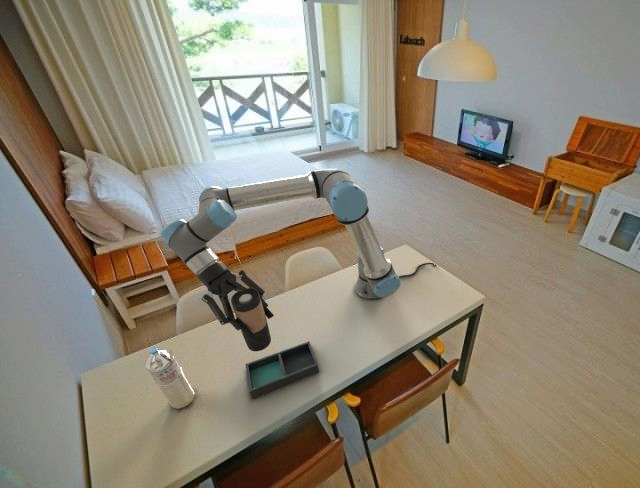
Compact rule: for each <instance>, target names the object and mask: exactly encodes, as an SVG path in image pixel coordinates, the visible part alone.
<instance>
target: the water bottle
mask: <svg viewBox="0 0 640 488" xmlns="http://www.w3.org/2000/svg"><path fill="white" fill-rule="evenodd" d="M144 366H145V369H146V371H147V372H149V374H150V376H151V377H152V378H153V380H154V382H155V384H156V386H157V387H158V388H159V390H160V391H161V393H162V394H163V396H164V397H165V399H166V400H167V402H168V404H169V405H170V406H171V407H172V408H174V409H177V410H180V409H184V408H186V407H187V406H189V405H190V404H191V403H192V402H193V401H194V399H195V397H196V396H195V395H196V394H195V390H194V388H193V386H192V384H191V383H190V381H189V379H188V378H187V376H186V374H185V373H184V370H183V368H182V367H181V366H180V365H179V363H178V361H177V359H176V358H175V354H174V353H173V351H171V350H169V349H158V348H157V347H152V348H151V349H150V350H149V355H148V356H147V358H146V360H145V363H144Z"/></svg>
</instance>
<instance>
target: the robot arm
mask: <svg viewBox="0 0 640 488" xmlns="http://www.w3.org/2000/svg"><path fill="white" fill-rule="evenodd" d="M305 198H313V199H315V200H317V199H325V200H326V202H327V203H328V206H329V207H330V209H331V211H332V213H333V215H334V217H335V219H336V221H337V223H338V224H339V225H342V226H344V227H345V229H346V231H347V233H348V235H349V237H350V239H351V242H352V243H353V245H354V247H355V249H356V252H357V255H356V257H357V272H358V273H357V274H358V275H357V279H356V282H355V284H354V285H355V286H354V287H355V292H356V294H357V295H358V296H359V297H360V298H363V299H366V300H376V299H379V298H388V297H390V296H392V295H394V294H395V293H396V292H397V291H398V289H399V288H400V287H401V279H400V278H409V277H413V276H414V275H416V274H417V272H418V270H419V268H422V267H423V266H427V265H428V266H429V265H431V266H434V267H436V266H437V264H435V263H433V262H424V263H421V264H419V265H418V266H416V268H415V271H414V272H412V273H410V274H404V275H398V274H397V273H396V271H395V269H394V267H393V264H392V262H391V260H390V259H389V258H388V257H386V256H385V249H384V247H382V246H381V245H380V242H379V239H378V238H377V236H376V233H375V231H374V229H373V226H372V224H371V221H370V218H369V216H368V215H369V212H370V208H369V205H368V204H369V203H368V202H369V201H368V197H367V194H366V192H365V190H364V189H363V187H362V186H361V185H360V184H358V183H357V181H355V179H354V177H352V175H351V174H349V172H347V171H346V170H344V169H340V168H324V169H317V170H311V171H308V172H307V174H305V175H297V176H293V177H286V178H280V179H274V180H269V181H262V182H256V183H255V182H254V183H249V184H244V185H239V186H231V187H224V188H222V187H220V186H216V185H209V186H206V187H205V188H203V189H202V191H201V193H200V195H199V198H198V201H199V202H198V204H199V205H198V213H197V214H196V215H195V216H194V217H192V218H191V219H190V220H188V221H186V220H185V219H177V220H174V221H172V222H171V223H169V224H166V226H165V227H163V228H162V229H161V231H160V237H161V239H162V240H163V241H164V243H166V245H167V246H168V248H169V249H171V250H172V251H173V253H175V255H177V257H179V259H180V260H181V261H182V262H183V263H184V264H185V265H186V267H187V268H188V269H189V270H190V271H191V272H192V273H193V274H194V275H195V276H197V279H198V280H199V281H200V282H201V283H202V284H203V286H205V287H206V288H207V292H206V293H205V294H203V295H202V297H201V301H202V302H203V303H205V304H207V306H208V308H209V309H210V310H211V312H212V313H213V314H214V316H215V317H216V319H217V320H218V322H219V323H220V325H222V326H225V325H226V324H230V325H231V326H232V327H233V328H234V329H235V330H236V331H241V330H242V331H243V332H244V334H245V335H246V336H247V337H250V336H251V335H253V333H252V332H251V330H250V329H249V328H248V327H247V326H246V325H245V324H244V323H243V322H242V321H241V320H240V319H239V318H236V316H235V313H234V310H233V307H232V304H231V301H230V299H229V294H230V293H231V292H232V293H233V291H234V292H238V291H239V292H241V291H244V290H246V289H247V288H252V289H255V290H257V291H258V293H259V296H260V299H261V302H262V306H263V309H264V312H265V316H266V319H268V320H270V319H272V318H273V317H274V316H275V315H274V314H273V312H272V311H271V310H270V309H269V308H268V307H269V303H267V302H266V301H265V299H264V298H263V297H264V296H263V295H264V294H266V293H265V290H264V289H263V288H262V287H260V286H259V285H258V284H257V282H255V281H254V280H252V278H250V277H249V276H248V275H247V273H246V272H245V270H244V269H241V270H239V271H238V272H236V273H234V272H231V271H230V269H229V267H228V266H227V265H226V264H225V263H224V262H223V261H221V260H220V258H219V256H217V254H216V253H215V252H214V251H213V250H212V249H211V248H210V246H209V245H208V244H207V243H208V242H210V241H211V240H213V239H214V238H216V237H217V236H218V235H219V234H221V233H222V232H223V231H224V230H226V229H228V228H229V227H231V225H232V224H233V223H234V222H235V221H237V218H238V215H237V213H236V212H235V211H240V210H245V209H250V208H251V209H252V208H255V207H262V206H266V205H272V204H277V203H278V204H279V203H283V202H288V201H295V200H300V199H305ZM434 264H435V265H434ZM237 280H240V281H241V282H242V283H243V284H244V285H246V286H247V287H246V286H244V285H243V284H241V283H239V282H237ZM213 295H215V296H218V298H219V301H220V303H221V305H222V309H223V311H224V312H223V311H222V309H221V308H220V306H219V304H218V303H217V302H216V300H215V299H214V296H213Z"/></svg>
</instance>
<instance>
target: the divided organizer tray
mask: <svg viewBox="0 0 640 488" xmlns="http://www.w3.org/2000/svg"><path fill="white" fill-rule="evenodd" d="M245 371H246V375H247V376H246V377H247V385H248V391H249V395H250V397H251V400H253V399H256V398H258V397H261V396H263V395H266V394H268V393H271V392H273V391H275V390H278V389H280V388H283V387H285V386H288V385H291V384H293V383H295V382H298V381H300V380H303V379H306V378H308V377H310V376H313V375H315V374H317V373H320V369H319V364H318V361H317V359H316V356H315V352H314V350H313V347H312V345H311V342H310V340H307V341H306V342H303V343H300V344H298V345H295V346H291V347H289V348H286V349H283V350H280V351H278V352H275V353H273V354H270V355H266V356H264V357H261V358H259V359H256V360H252V361H251V362H247V363H245Z"/></svg>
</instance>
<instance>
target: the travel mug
mask: <svg viewBox="0 0 640 488" xmlns="http://www.w3.org/2000/svg"><path fill="white" fill-rule="evenodd" d="M246 288H247V289H246V290H244V291H241V292H239V291H235V292H234V294H233V295H232V296H231V298H230V304H231V307H232V310H233V313H234V316H235V319H236V318H239V319H240V320H241V321H242V322H243V323H244V324H245V325H246V326H247V327H248V328H249V329H250V330H251V332H252V333H253V335H251V336H250V337H247V336H246V335H245V334H244V332H243V331H242V330H241V329H240V332H241V334H242V336H243V339H244V341H245V344H246V346H247V348H248V350H250V351H251V352H261V351H263V350H266V349H267V348H268V347H269V346H270V344H271V342H272V336H271V332H270V327H269V323H268V320H267V319H268V318H267V317H266V315H265V312H264V309H263V306H262V302H261V299H260V296H259V293H258V291H257V290H255V289H252V288H249V287H246Z"/></svg>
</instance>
